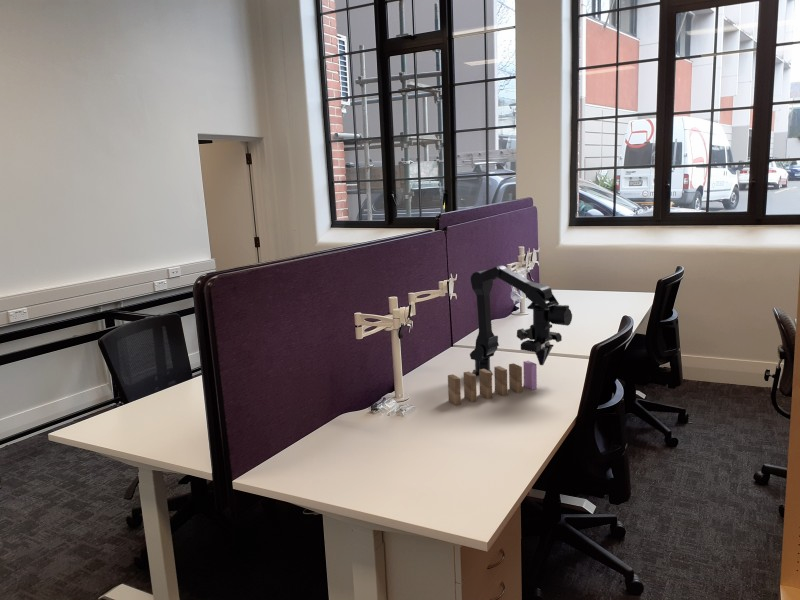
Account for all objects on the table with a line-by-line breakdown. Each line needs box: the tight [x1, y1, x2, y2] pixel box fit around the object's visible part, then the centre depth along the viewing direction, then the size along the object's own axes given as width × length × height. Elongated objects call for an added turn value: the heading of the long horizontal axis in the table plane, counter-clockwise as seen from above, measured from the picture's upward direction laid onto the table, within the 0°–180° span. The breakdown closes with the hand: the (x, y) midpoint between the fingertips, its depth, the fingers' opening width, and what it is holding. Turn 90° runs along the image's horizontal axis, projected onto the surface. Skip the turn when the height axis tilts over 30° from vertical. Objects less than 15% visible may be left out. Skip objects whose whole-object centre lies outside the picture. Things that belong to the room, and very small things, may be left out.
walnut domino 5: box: [508, 362, 523, 394], centre depth 213 cm, size 2×5×9 cm, turn 23°
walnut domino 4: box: [493, 365, 508, 397], centre depth 210 cm, size 2×5×9 cm, turn 23°
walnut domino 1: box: [447, 374, 462, 406], centre depth 204 cm, size 2×5×9 cm, turn 23°
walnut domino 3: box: [478, 369, 493, 400], centre depth 208 cm, size 2×5×9 cm, turn 23°
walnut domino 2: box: [463, 371, 478, 403], centre depth 206 cm, size 2×5×9 cm, turn 23°
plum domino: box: [523, 360, 538, 390], centre depth 215 cm, size 2×5×9 cm, turn 23°
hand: (541, 364), depth 216 cm, fingers closed
